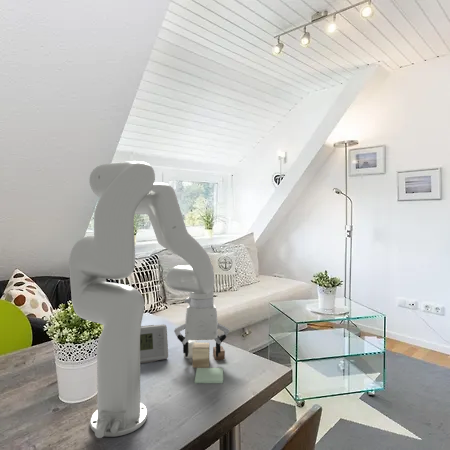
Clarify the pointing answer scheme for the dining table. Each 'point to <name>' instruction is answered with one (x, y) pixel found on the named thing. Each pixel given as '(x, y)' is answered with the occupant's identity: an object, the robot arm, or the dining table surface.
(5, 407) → the dining table surface
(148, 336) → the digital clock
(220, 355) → the walnut box
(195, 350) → the beech block
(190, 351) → the white capsule
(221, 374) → the felt pad
